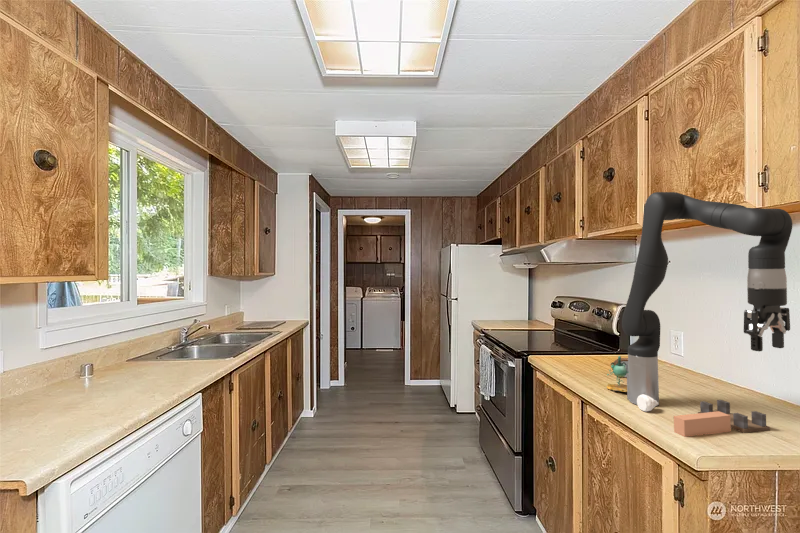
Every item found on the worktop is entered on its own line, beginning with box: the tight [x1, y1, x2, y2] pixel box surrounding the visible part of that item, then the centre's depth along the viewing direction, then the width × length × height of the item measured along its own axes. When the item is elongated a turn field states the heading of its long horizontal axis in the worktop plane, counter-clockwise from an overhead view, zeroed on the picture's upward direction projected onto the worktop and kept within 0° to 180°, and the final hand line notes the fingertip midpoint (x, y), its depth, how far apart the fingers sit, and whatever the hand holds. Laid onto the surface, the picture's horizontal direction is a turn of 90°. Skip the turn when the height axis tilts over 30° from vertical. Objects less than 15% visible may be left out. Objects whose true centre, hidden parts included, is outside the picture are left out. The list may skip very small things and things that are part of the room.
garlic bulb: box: [637, 394, 659, 412], centre depth 138 cm, size 6×6×5 cm
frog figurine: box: [606, 355, 628, 393], centre depth 161 cm, size 10×18×15 cm, turn 175°
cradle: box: [697, 399, 771, 434], centre depth 126 cm, size 15×9×4 cm, turn 10°
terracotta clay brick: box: [673, 411, 732, 438], centre depth 120 cm, size 4×16×5 cm, turn 101°
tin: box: [611, 357, 629, 379], centre depth 179 cm, size 15×3×8 cm, turn 81°
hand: (767, 349), depth 104 cm, fingers open, 8 cm apart
